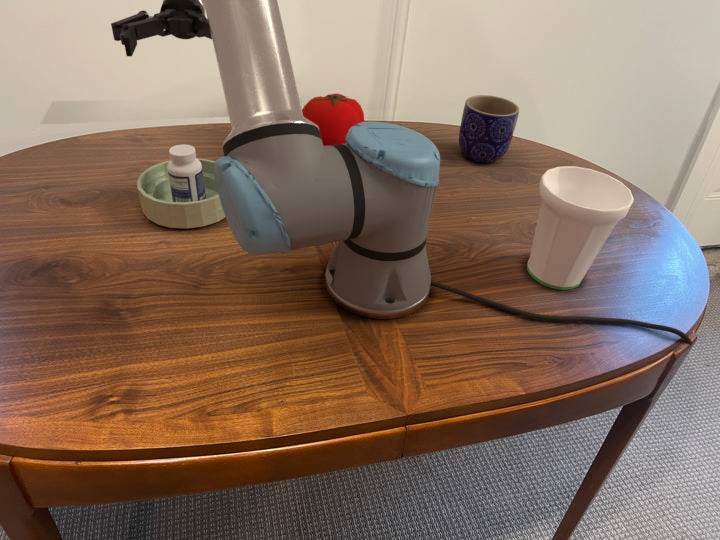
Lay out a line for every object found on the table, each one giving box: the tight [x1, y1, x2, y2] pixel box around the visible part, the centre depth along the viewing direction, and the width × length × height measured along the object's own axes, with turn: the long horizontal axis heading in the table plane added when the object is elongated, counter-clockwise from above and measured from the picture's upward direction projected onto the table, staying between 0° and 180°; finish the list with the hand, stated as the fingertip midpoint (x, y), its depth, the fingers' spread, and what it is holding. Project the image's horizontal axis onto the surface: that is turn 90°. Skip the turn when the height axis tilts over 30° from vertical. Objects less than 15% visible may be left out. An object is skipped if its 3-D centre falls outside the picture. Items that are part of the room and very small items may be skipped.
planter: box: [458, 94, 520, 164], centre depth 111 cm, size 11×11×11 cm
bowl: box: [136, 157, 226, 230], centre depth 89 cm, size 15×15×5 cm
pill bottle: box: [167, 143, 206, 202], centre depth 87 cm, size 5×5×10 cm
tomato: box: [302, 93, 365, 146], centre depth 107 cm, size 12×13×12 cm
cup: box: [526, 165, 635, 291], centre depth 79 cm, size 12×12×15 cm
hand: (174, 48), depth 82 cm, fingers open, 13 cm apart
